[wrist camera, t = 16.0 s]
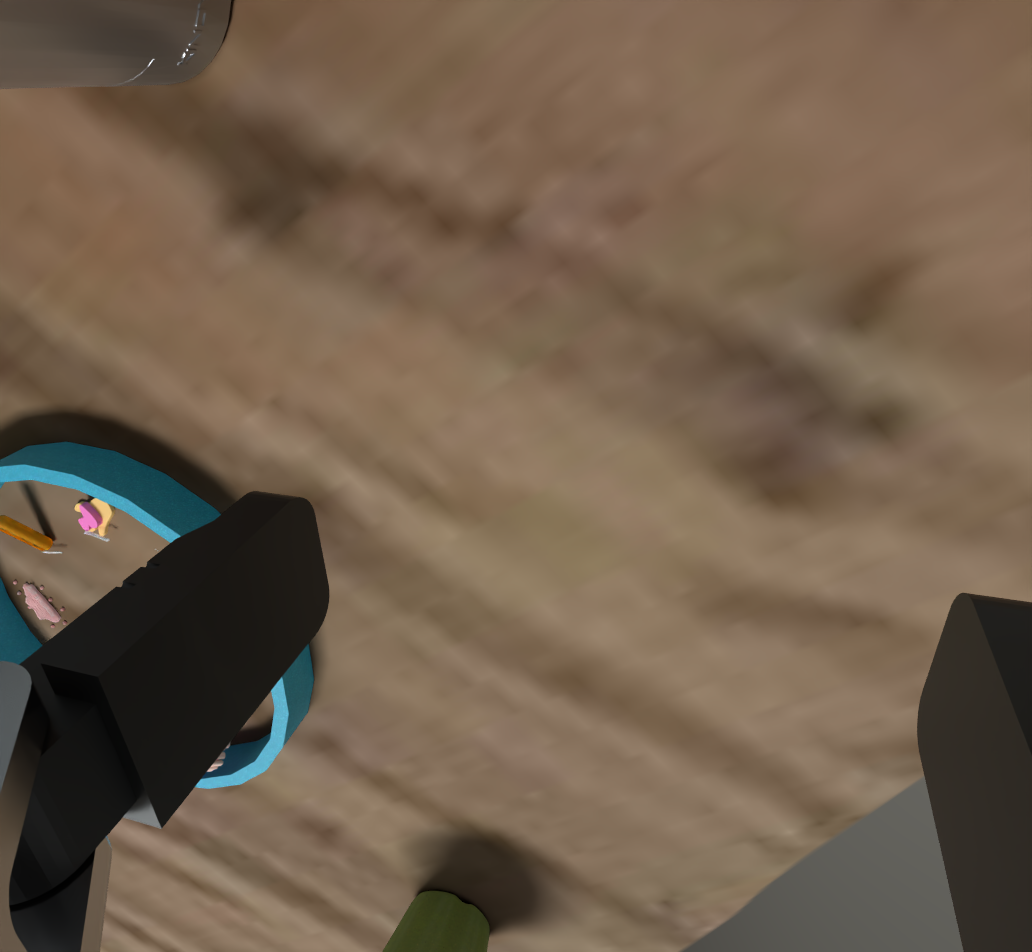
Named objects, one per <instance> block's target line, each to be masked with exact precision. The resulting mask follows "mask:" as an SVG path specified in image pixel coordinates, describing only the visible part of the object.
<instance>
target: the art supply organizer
mask: <svg viewBox="0 0 1032 952" xmlns="http://www.w3.org/2000/svg"><path fill="white" fill-rule="evenodd" d="M21 480H36V481H40V482H45V483H49V484H54V485H59V486H63V487H68V488H73V489H77V490H79V491H81V492H84V493H86V494H88V495H90V496H92V497H94V499H93V500H92V501H91V502H83V501H81V502H80V503H78V504H76V506H75V510H76V511H77V512H81V513H82V515H83V517H81V518H80V519H79V523H80V525H81V526H82V528H83V529H84V530H85V531H86V532H87V531H89V532H90V533H88V532H87V533H88V534H89V535H93V536H94V535H95V534H94V533H93V531H95V530H96V529H97V528H99V535H100V536H99V535H98V538H99V537H100V538H101V539H102V538H103V539H102V540H104V539H105V538H104V537H102V536H104V535H106V534H107V532H108V526H109V523H110V520H111V519H112V517H113V515H114V513H115V508H114V507H116V508H119V509H121V510H123V511H125V512H127V513H128V514H130V515H131V516H133V517H134V518H135V519H137V520H138V521H140V522H141V523H143V524H144V525H146V526H147V527H148V528H150V529H151V530H153V531H154V532H156V533H157V534H159V535H160V536H161V537H163V538H164V539H166V540H167V541H169V542H170V543H171V542H173V541H174V540H175V539H177V538H179V537H181V536H183V535H185V534H187V533H189V532H191V531H193V530H195V529H197V528H199V527H201V526H204V525H206V524H208V523H210V522H212V521H214V520H215V519H216V518H217V517H219V516H220V515H221V514H220V513H219V512H218V511H217V510H216V509H215V508H214V507H212V506H211V505H209V504H208V503H207V502H205V501H204V500H202V499H201V498H199V497H198V496H197V495H195V494H194V493H192V492H191V491H189V490H188V489H186V488H185V487H184V486H182V485H181V484H179V483H178V482H176V481H175V480H174V479H172V478H171V477H169V476H168V475H166V474H165V473H162V472H160V471H158V470H156V469H154V468H151V467H149V466H147V465H145V464H142V463H140V462H138V461H136V460H133V459H131V458H129V457H127V456H125V455H122V454H120V453H118V452H116V451H112V450H107V449H102V448H97V447H92V446H87V445H82V444H76V443H71V442H60V443H50V444H41V445H32V446H26V447H25V448H23V449H21V450H19V451H17V452H15V453H13V454H11V455H9V456H7V457H5V458H3V459H1V460H0V488H1V487H2V485H3V484H4V482H9V481H21ZM0 531H2V532H4V533H6V534H8V535H10V536H12V537H14V538H16V539H18V540H21V541H23V542H25V543H27V544H29V545H31V546H33V547H35V548H37V549H39V550H42V552H43V553H62V552H58V551H57V552H56V551H55V552H46V551H43V550H49V549H50V548H51V546H52V544H53V541H52V539H51V538H49V537H47V536H45V535H43V534H41V533H39V532H37V531H35V530H33V529H31V528H29V527H27V526H25V525H23V524H21V523H19V522H17V521H15V520H13V519H11V518H9V517H7V516H5V515H1V516H0ZM86 532H84V534H87V533H86ZM91 532H92V533H93V534H92V533H91ZM88 534H87V535H88ZM96 535H97V534H96ZM96 535H95V536H96ZM100 538H99V539H100ZM106 539H107V538H106ZM106 539H105V541H106ZM109 540H110V539H107V541H109ZM155 550H156V549H155ZM157 551H158V550H157ZM13 583H14V584H17V583H18V582H17V581H16V580H15V581H13ZM23 589H24V592H25V595H26V596H27V597H26V598H25V599H26V601H25V602H26V603H27V604H28V605H29V606H28V608H29V609H31V608H33V610H34V611H35V612H36V614H37V616H38V618H39V619H40V620H41V619H45V618H46V619H47V620H50V621H51V622H52V621H53V622H54V623H55V622H59V621H60V619H61V617H60V615H59V613H58V612H57V611H56V610H55V609H54V607H53V606H52V605H51V604H50V603H49V602H48V601H50V602H51V601H53V599H52V598H49V599H48V601H47V600H46V598H45V597H44V596H43V595H42V594H41V593H40V592H39V591H38V590H37V589H36V587H35V586H34V585H33V584H30V585H29V584H28V583H25V584H24V586H23ZM40 589H41V590H42V589H44V587H43V586H40ZM17 594H18V595H21V592H20V591H18V592H17ZM64 610H65V608H63V607H62V608H61V611H64ZM63 624H64V625H65V624H67V622H66V621H63ZM54 627H55V625H53V624H52V625H51V628H54ZM42 646H43V645H42V644H41V643H40V642H39V641H38V640H37V638H36V637H35V636H34V635H33V634H32V633H31V631H30V630H29V628H28V627H27V625H26V624H25V622H24V620H23V619H22V617H21V616H20V614H19V613H18V611H17V609H16V608H15V606H14V605H13V603H12V601H11V600H10V598H9V597H8V594H7V592H6V589H5V587H4V584H3V582H2V580H1V577H0V661H7V662H12V663H16V664H18V665H19V664H20V663H21V662H23V661H24V660H25V659H27V658H28V657H29V656H30V655H32V654H33V653H34V652H35V651H37V650H38V649H39V648H40V647H42ZM313 683H314V676H313V669H312V662H311V656H310V649H309V643H308V645H307V646H306V647H305V648H304V650H303V651H302V652H301V653H300V655H299V656H298V657H297V659H296V660H295V661H294V662H293V664H292V665H291V666H290V667H289V669H288V670H287V671H286V672H285V674H284V675H283V676H282V677H281V679H280V680H279V681H278V682H277V684H276V685H275V686H274V688H273V689H272V690H271V692H272V697H273V702H274V707H275V710H274V717H273V723H272V730H271V733H270V734H268V735H266V736H265V737H263V738H261V739H260V740H258V741H254V742H249V743H243V744H237V745H231V746H230V743H229V744H228V746H227V747H226V748H225V749H224V751H223V752H222V753H221V754H220V756H219V757H218V758H217V759H216V761H215V762H214V763H213V764H212V766H211V767H210V768H209V770H208V771H207V772H206V773H205V775H204V776H203V777H202V778H201V780H200V781H199V782H198V783H197V785H196V786H195V787H199V788H207V789H210V788H217V787H224V786H232V785H239V784H242V783H244V782H246V781H248V780H249V779H251V778H253V777H255V776H257V775H259V774H261V773H262V772H264V771H266V770H267V769H268V767H269V766H270V764H271V763H272V762H273V760H274V759H275V757H276V756H277V755H278V753H279V752H280V750H281V749H282V748H283V746H284V745H285V743H286V742H287V741H288V739H289V738H290V737H291V735H292V734H293V732H294V731H295V729H296V728H297V727H298V725H299V724H300V722H301V721H302V720H303V718H304V717H305V715H306V714H307V713H308V709H309V703H310V698H311V693H312V688H313Z"/></svg>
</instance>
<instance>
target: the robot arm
mask: <svg viewBox="0 0 1032 952" xmlns="http://www.w3.org/2000/svg"><path fill="white" fill-rule="evenodd" d="M230 6H231V0H0V89H13V88H53V87H93V86H140V85H169V84H175V83H180V82H185V81H187V80H189V79H191V78H192V77H194V76H196V75H198V74H199V73H200V72H202V71H203V70H204V69H205V68H206V67H207V66H208V65H209V64H210V63H211V62H212V60H213V58H214V57H215V55H216V53H217V51H218V50H219V48H220V46H221V45H222V41H223V38H224V35H225V32H226V29H227V26H228V21H229V13H230ZM328 604H329V584H328V579H327V574H326V569H325V564H324V559H323V553H322V548H321V543H320V538H319V533H318V527H317V522H316V517H315V513H314V509H313V507H312V505H311V504H310V502H309V501H308V500H307V499H305V498H301V497H294V496H287V495H280V494H273V493H266V492H259V491H253V492H250V493H247V494H246V495H244V496H243V497H242V498H241V499H239V500H238V501H237V502H236V503H234V504H233V505H232V506H231V507H230V508H228V509H227V510H226V511H225V512H224V513H222V514H221V515H220V516H219V517H217V518H216V519H215V520H214V521H212V522H210V523H208V524H206V525H204V526H201V527H199V528H197V529H195V530H193V531H191V532H189V533H187V534H185V535H183V536H181V537H179V538H177V539H175V540H174V541H173V542H171V543H170V544H169V545H168V546H166V547H165V548H164V549H163V550H161V551H160V552H159V553H158V554H156V555H155V556H154V557H153V558H151V559H150V560H149V561H148V562H147V566H146V567H140V568H139V569H138V570H136V571H135V572H134V573H133V574H131V575H130V576H129V577H128V578H126V579H125V580H124V581H123V585H122V587H115V588H114V589H113V590H111V591H110V592H109V593H108V594H107V595H105V596H104V597H103V598H102V599H100V600H99V601H98V602H97V603H95V604H94V605H93V606H92V607H90V608H89V609H88V610H87V611H85V612H84V613H83V614H82V615H80V616H79V617H78V618H77V619H75V620H74V621H73V622H72V623H70V624H69V625H68V626H67V627H65V628H64V629H63V630H62V631H60V632H59V633H58V634H57V635H55V636H54V637H53V638H52V639H50V640H49V641H48V642H47V643H45V644H44V645H43V646H42V647H40V648H39V649H38V650H37V651H35V652H34V653H33V654H32V655H30V656H29V657H28V658H27V659H25V660H24V661H23V662H21V663H20V664H19V665H18V664H16V663H12V662H7V661H0V952H100V947H101V939H102V931H103V923H104V915H105V907H106V899H107V891H108V883H109V875H110V867H111V859H112V848H111V844H110V841H109V839H108V837H107V835H108V834H109V833H110V831H111V830H112V829H113V828H114V827H115V826H116V824H117V823H118V822H119V821H120V820H121V819H122V817H124V818H127V819H130V820H134V821H137V822H141V823H144V824H147V825H151V826H154V827H157V828H161V829H162V828H163V826H164V825H165V824H166V822H167V821H168V820H169V819H170V817H171V816H172V815H173V814H174V812H175V811H176V810H177V809H178V807H179V806H180V805H181V804H182V802H183V801H184V800H185V799H186V797H187V796H188V795H189V793H190V792H191V791H192V790H193V788H194V787H195V786H196V785H197V783H198V782H199V781H200V780H201V778H202V777H203V776H204V775H205V773H206V772H207V771H208V770H209V768H210V767H211V766H212V764H213V763H214V762H215V761H216V759H217V758H218V757H219V756H220V754H221V753H222V752H223V751H224V749H225V748H226V747H227V746H228V744H229V743H230V742H231V741H232V739H233V738H234V737H235V735H236V734H237V733H238V732H239V730H240V729H241V728H242V727H243V725H244V724H245V723H246V722H247V720H248V719H249V718H250V717H251V715H252V714H253V713H254V712H255V710H256V709H257V708H258V706H259V705H260V704H261V703H262V701H263V700H264V699H265V698H266V696H267V695H268V694H269V693H270V691H271V690H272V689H273V688H274V686H275V685H276V684H277V682H278V681H279V680H280V679H281V677H282V676H283V675H284V674H285V672H286V671H287V670H288V669H289V667H290V666H291V665H292V664H293V662H294V661H295V660H296V659H297V657H298V656H299V655H300V653H301V652H302V651H303V650H304V648H305V647H306V646H307V645H308V643H309V642H310V641H311V640H312V638H313V637H314V636H315V635H316V633H317V632H318V630H319V629H320V627H321V625H322V623H323V621H324V619H325V616H326V613H327V609H328ZM917 735H918V747H919V753H920V757H921V762H922V766H923V771H924V775H925V780H926V784H927V789H928V793H929V798H930V802H931V807H932V811H933V816H934V820H935V824H936V829H937V834H938V838H939V843H940V847H941V851H942V856H943V861H944V865H945V870H946V874H947V879H948V883H949V888H950V892H951V897H952V900H953V906H954V910H955V915H956V919H957V923H958V928H959V932H960V937H961V941H962V946H963V950H964V952H1032V602H1025V601H1018V600H1010V599H1003V598H996V597H989V596H982V595H975V594H968V593H961V594H959V595H958V596H957V597H956V598H955V600H954V601H953V603H952V605H951V608H950V611H949V614H948V617H947V620H946V623H945V626H944V629H943V632H942V635H941V638H940V641H939V644H938V646H937V649H936V652H935V655H934V658H933V661H932V664H931V667H930V670H929V673H928V676H927V679H926V682H925V685H924V688H923V691H922V695H921V699H920V704H919V710H918V723H917Z"/></svg>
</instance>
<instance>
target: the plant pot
mask: <svg viewBox="0 0 1032 952" xmlns="http://www.w3.org/2000/svg"><path fill="white" fill-rule="evenodd" d="M489 932H490V928H489V924H488V922H487V919H486V918H485V916H484V915H483V914H482V913H481V912H480V911H479V910H478V909H477V908H476V907H475V906H474V905H472V904H465V903H463V902H462V901H461V900H459V898H458V897H457V896H456V895H453V894H451V893H448V892H443V891H426V892H422V893H420V894H419V895H418V896H417V897H416V898H415V899H414V900H413V902H412V903H411V905H410V906H409V908H408V910H407V911H406V913H405V915H404V916H403V918H402V920H401V921H400V923H399V925H398V927H397V928H396V930H395V932H394V933H393V935H392V937H391V938H390V940H389V942H388V943H387V945H386V947H385V948H384V950H383V952H487V947H488V940H489Z"/></svg>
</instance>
